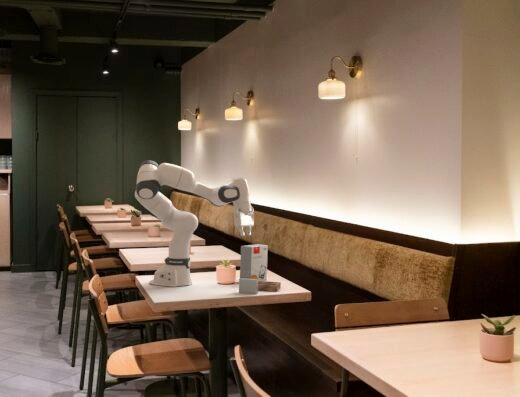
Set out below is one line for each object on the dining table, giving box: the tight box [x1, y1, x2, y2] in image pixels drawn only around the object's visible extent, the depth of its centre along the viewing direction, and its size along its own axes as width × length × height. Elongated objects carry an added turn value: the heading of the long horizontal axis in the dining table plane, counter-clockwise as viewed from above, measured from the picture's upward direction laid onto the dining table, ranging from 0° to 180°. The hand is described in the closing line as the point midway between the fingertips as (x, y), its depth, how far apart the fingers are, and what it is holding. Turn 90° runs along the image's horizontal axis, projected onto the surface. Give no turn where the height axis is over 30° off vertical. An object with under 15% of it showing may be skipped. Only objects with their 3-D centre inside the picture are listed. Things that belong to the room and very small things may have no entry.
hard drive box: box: [239, 244, 269, 281], centre depth 355 cm, size 16×8×20 cm, turn 143°
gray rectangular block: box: [238, 277, 259, 295], centre depth 322 cm, size 7×3×9 cm
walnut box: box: [258, 280, 282, 292], centre depth 334 cm, size 12×10×3 cm
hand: (245, 235), depth 329 cm, fingers open, 8 cm apart
